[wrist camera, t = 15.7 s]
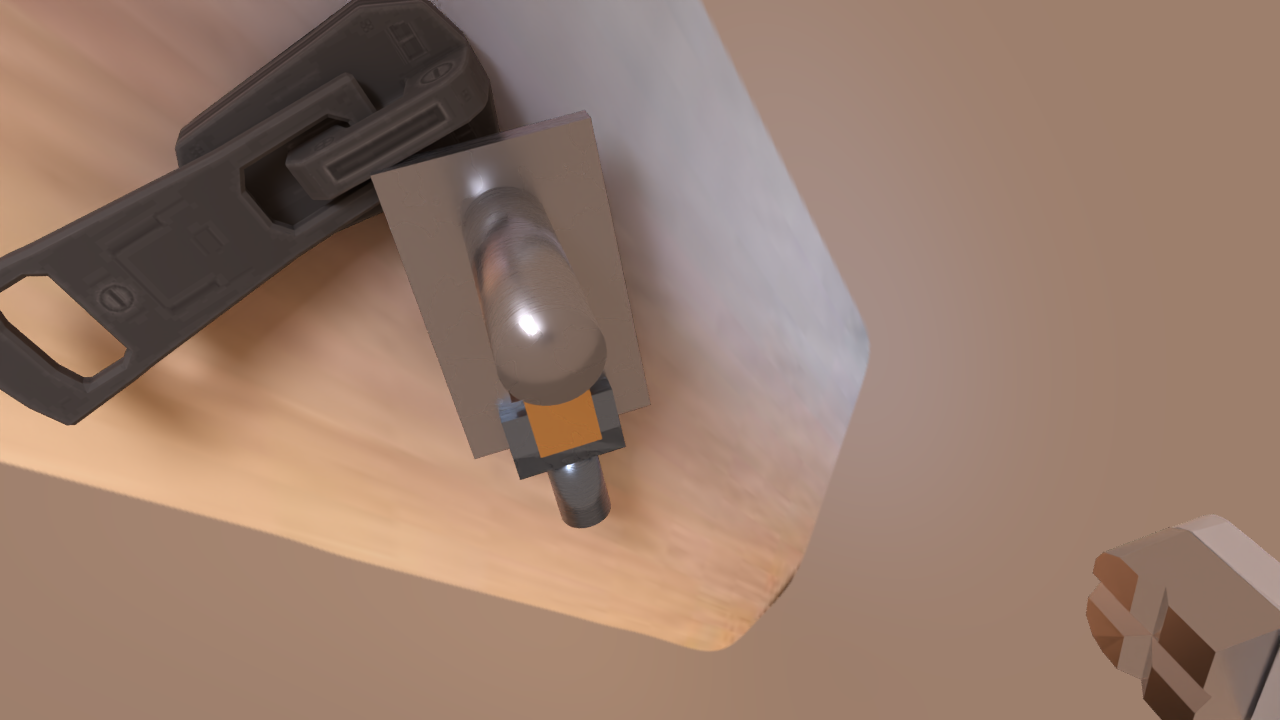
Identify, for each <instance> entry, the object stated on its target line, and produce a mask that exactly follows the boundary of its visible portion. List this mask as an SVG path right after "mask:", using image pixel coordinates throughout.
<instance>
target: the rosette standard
mask: <svg viewBox="0 0 1280 720" xmlns="http://www.w3.org/2000/svg"><path fill="white" fill-rule="evenodd" d="M370 176H371V179H372V181H373V184H374V187H375V190H376V192H377V195H378V198H379V200H380V203H381V206H382V209H383V211H384V214H385V217H386V219H387V222H388V225H389V228H390V230H391V233H392V236H393V238H394V241H395V244H396V247H397V249H398V252H399V255H400V257H401V260H402V263H403V266H404V268H405V271H406V274H407V276H408V279H409V282H410V285H411V287H412V290H413V293H414V295H415V298H416V301H417V304H418V306H419V309H420V312H421V314H422V317H423V320H424V323H425V325H426V328H427V331H428V333H429V336H430V339H431V342H432V344H433V347H434V350H435V352H436V355H437V358H438V361H439V363H440V366H441V369H442V371H443V374H444V377H445V380H446V382H447V385H448V388H449V390H450V393H451V396H452V399H453V401H454V404H455V407H456V409H457V412H458V415H459V418H460V420H461V423H462V426H463V428H464V431H465V434H466V436H467V439H468V442H469V445H470V447H471V450H472V453H473V455H474V458H475V459H477V458H480V457H483V456H487V455H490V454H493V453H496V452H500V451H503V450H506V449H509V448H510V450H511V453H512V456H513V459H514V462H515V465H516V468H517V471H518V474H519V477H520V480H522V479H525V478H528V477H531V476H534V475H537V474H541V473H544V472H548V475H549V478H550V481H551V485H552V488H553V491H554V494H555V497H556V501H557V504H558V507H559V510H560V514H561V517H562V519H563V521H564V522H565V523H566V524H567V525H569V526H571V527H575V528H587V527H591V526H594V525H596V524H598V523H600V522H601V521H602V520H604V519H605V518H606V516H607V515H608V514H609V512H610V509H611V503H610V499H609V496H608V492H607V488H606V484H605V480H604V477H603V473H602V469H601V465H600V461H599V458H598V455H601V454H604V453H607V452H611V451H614V450H617V449H620V448H623V447H626V446H625V442H624V437H623V433H622V429H621V425H620V421H619V416H618V415H619V414H623V413H626V412H629V411H632V410H636V409H639V408H642V407H645V406H648V405H651V403H650V399H649V394H648V389H647V384H646V379H645V375H644V370H643V365H642V360H641V356H640V351H639V346H638V341H637V336H636V332H635V327H634V322H633V317H632V313H631V308H630V303H629V298H628V293H627V289H626V284H625V279H624V274H623V270H622V265H621V260H620V255H619V250H618V246H617V241H616V236H615V231H614V227H613V222H612V217H611V212H610V207H609V203H608V198H607V193H606V188H605V184H604V179H603V174H602V169H601V164H600V160H599V155H598V150H597V145H596V140H595V136H594V131H593V126H592V121H591V117H590V116H589V115H588V113H587V112H586V111H585V110H583V111H580V112H576V113H572V114H568V115H564V116H561V117H557V118H553V119H549V120H545V121H542V122H538V123H534V124H530V125H526V126H522V127H519V128H515V129H511V130H507V131H503V132H500V133H496V134H492V135H488V136H484V137H481V138H477V139H473V140H469V141H465V142H462V143H458V144H454V145H450V146H446V147H443V148H439V149H435V150H431V151H427V152H424V153H420V154H416V155H412V156H409V157H407V158H405V159H404V160H402V161H400V162H398V163H397V164H395V165H393V166H391V167H389V168H386V169H383V170H380V171H376V172H372V173H370ZM589 389H590V392H591V396H592V400H593V404H594V408H595V412H596V416H597V420H598V424H599V428H600V432H601V436H602V439H601V440H597V441H594V442H591V443H588V444H585V445H581V446H578V447H575V448H572V449H569V450H565V451H562V452H559V453H556V454H552V455H549V456H546V457H543V458H541V457H540V453H539V450H538V447H537V444H536V441H535V437H534V434H533V431H532V428H531V425H530V421H529V418H528V415H527V412H526V409H525V405H524V402H526V403H529V404H533V405H540V406H551V405H558V404H562V403H566V402H568V401H571V400H573V399H575V398H577V397H579V396H580V395H582V394H584V393H585V392H586V391H587V390H589Z"/></svg>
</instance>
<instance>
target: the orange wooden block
mask: <svg viewBox="0 0 1280 720" xmlns="http://www.w3.org/2000/svg"><path fill="white" fill-rule="evenodd" d="M524 405H525V409H526V412H527V415H528V418H529V421H530V425H531V428H532V431H533V434H534V437H535V441H536V444H537V447H538V450H539V453H540V457H541V458H543V457H546V456H549V455H552V454H556V453H559V452H562V451H565V450H569V449H572V448H575V447H578V446H581V445H585V444H588V443H591V442H594V441H597V440H601V439H602V436H601V432H600V428H599V424H598V420H597V416H596V412H595V408H594V404H593V400H592V396H591V392H590V389H589V390H587V391H586V392H585V393H584V394H582V395H580V396H579V397H577V398H575V399H573V400H571V401H568V402H566V403H562V404H558V405H551V406H540V405H533V404H529V403H526V402H524Z"/></svg>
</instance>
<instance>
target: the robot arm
mask: <svg viewBox="0 0 1280 720" xmlns="http://www.w3.org/2000/svg"><path fill="white" fill-rule="evenodd" d="M1093 574H1094V575H1095V576H1096V577H1097V578H1098V579H1099V580H1100V581H1101V582H1100V583H1099V584H1098V585H1097V587H1096V588H1095V589H1094V591H1093V592H1092V593H1091V594H1090V595H1089V597H1088V603H1087V611H1086V616H1087V620H1088V623H1089V626H1090V629H1091V632H1092V635H1093V637H1094V639H1095V640H1096V642H1097V644H1098V645H1099V647H1100V649H1101V650H1102V652H1103V653H1104V654H1105V655H1106V657H1107V658H1108V659H1109V660H1110V661H1111V662H1112V664H1113V665H1114V666H1115V667H1116V668H1117V669H1118V670H1121V671H1123V672H1125V673H1127V674H1130V675H1132V676H1134V677H1136V678H1139V679H1141V683H1142V692H1143V699H1144V700H1145V701H1146V703H1147V704H1148V705H1149V706H1150V707H1151V708H1152V710H1153V711H1154V712H1155V713H1156V714H1157V715H1158V716H1159V717H1160V718H1161V720H1280V563H1279V562H1278V561H1277V560H1276V559H1274V558H1273V557H1272V556H1271V555H1269V554H1268V553H1267V552H1266V551H1265V550H1263V549H1262V548H1261V547H1260V546H1259V545H1257V544H1256V543H1255V542H1254V541H1252V540H1251V539H1250V538H1249V537H1248V536H1246V535H1245V534H1244V533H1243V532H1241V531H1240V530H1239V529H1238V528H1236V527H1235V526H1234V525H1233V524H1232V523H1231V522H1229V521H1228V520H1226V519H1225V518H1222V517H1220V516H1217V515H1215V514H1210V515H1203V516H1201V517H1198V518H1195V519H1192V520H1190V521H1187V522H1184V523H1182V524H1179V525H1176V526H1174V527H1168V528H1166V529H1163V530H1160V531H1158V532H1155V533H1152V534H1150V535H1147V536H1145V537H1142V538H1140V539H1137V540H1134V541H1132V542H1129V543H1126V544H1124V545H1121V546H1118V547H1116V548H1113V549H1111V550H1108V551H1106V552H1103V553H1102V554H1101V555H1100V556H1099V557H1097V558H1096V560H1095V565H1094V569H1093Z"/></svg>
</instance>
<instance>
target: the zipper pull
mask: <svg viewBox="0 0 1280 720" xmlns="http://www.w3.org/2000/svg"><path fill="white" fill-rule="evenodd" d="M496 133H499V127H498V121H497V116H496V111H495V106H494V101H493V96H492V90H491V85H490V81H489V78H488V76H487V75H486V73H485V71H484V69H483V67H482V66H481V64H480V62H479V60H478V59H477V57H476V55H475V53H474V51H473V50H472V48H471V46H470V45H469V43H468V41H467V39H466V38H465V36H464V34H463V32H462V31H461V30H460V29H459V28H458V27H457V26H456V25H454V24H453V23H452V22H451V21H450V20H449V19H448V18H447V17H446V16H445V15H443V14H442V13H441V12H440V11H439V10H438V9H437V8H436V7H435V6H434V5H433V4H431V3H430V2H429V1H428V0H352V1H351V2H349V3H348V4H347V5H345V6H344V7H343V8H341V9H340V10H339V11H337V12H336V13H335V14H333V15H332V16H331V17H329V18H328V19H327V20H325V21H324V22H323V23H321V24H320V25H319V26H317V27H316V28H315V29H313V30H312V31H311V32H309V33H308V34H307V35H305V36H304V37H303V38H301V39H300V40H298V41H297V42H296V43H294V44H293V45H292V46H290V47H289V48H288V49H286V50H285V51H284V52H282V53H281V54H280V55H278V56H277V57H276V58H274V59H273V60H272V61H270V62H269V63H268V64H266V65H265V66H264V67H262V68H261V69H260V70H258V71H257V72H256V73H254V74H253V75H252V76H250V77H249V78H248V79H246V80H245V81H244V82H242V83H241V84H240V85H238V86H237V87H236V88H234V89H233V90H232V91H230V92H229V93H228V94H226V95H225V96H224V97H222V98H221V99H220V100H218V101H217V102H216V103H214V104H213V105H212V106H210V107H209V108H207V109H206V110H205V111H203V112H202V113H201V114H199V115H198V116H197V117H196V118H195V119H193V120H192V121H191V122H190V123H189V124H187V125H186V126H185V127H183V128H182V130H181V131H180V134H179V137H178V140H177V143H176V146H175V151H176V156H177V160H178V165H179V168H178V169H176V170H174V171H172V172H170V173H168V174H166V175H164V176H162V177H160V178H158V179H156V180H154V181H152V182H150V183H148V184H146V185H144V186H142V187H140V188H138V189H136V190H135V191H133V192H131V193H129V194H127V195H125V196H123V197H121V198H119V199H117V200H115V201H113V202H111V203H109V204H107V205H105V206H103V207H101V208H99V209H97V210H95V211H93V212H91V213H89V214H87V215H85V216H83V217H81V218H79V219H77V220H75V221H74V222H72V223H70V224H68V225H66V226H64V227H62V228H60V229H58V230H56V231H54V232H52V233H50V234H48V235H46V236H44V237H42V238H40V239H38V240H36V241H34V242H32V243H30V244H28V245H26V246H24V247H21V248H19V249H17V250H15V251H13V252H10V253H8V254H6V255H5V256H3V257H1V258H0V292H2V291H4V290H5V289H7V288H9V287H10V286H12V285H13V284H15V283H17V282H18V281H20V280H22V279H23V278H25V277H26V276H49V277H50V278H51V279H52V280H53V281H54V282H55V283H56V284H57V285H59V286H60V287H61V288H62V289H63V290H64V291H65V292H66V293H67V294H68V295H69V296H71V297H72V298H73V299H74V300H75V301H76V302H77V303H78V304H79V305H80V306H81V307H83V308H84V309H85V310H86V311H87V312H88V313H89V314H90V315H91V316H92V317H93V318H94V319H96V320H97V321H98V322H99V323H100V324H101V325H102V326H103V327H104V328H105V329H106V330H108V331H109V332H110V333H111V334H112V335H113V336H114V337H115V338H116V339H117V340H118V341H120V342H121V343H122V344H123V345H124V346H125V347H126V351H125V354H124V357H123V358H121V359H119V360H118V361H116V362H115V363H113V364H112V365H110V366H108V367H107V368H105V369H104V370H102V371H101V372H99V373H97V374H96V375H94V376H93V377H82V376H80V375H78V374H76V373H75V372H73V371H71V370H69V369H67V368H65V367H63V366H61V365H59V364H58V363H57V362H55V361H54V360H53V359H52V358H51V357H50V356H48V355H47V354H46V353H45V352H44V351H43V350H41V349H40V348H39V347H38V346H37V345H35V344H34V343H33V342H32V341H31V340H30V339H28V338H27V337H26V336H25V335H24V334H22V333H21V332H20V331H19V330H18V329H17V328H15V327H14V326H13V325H12V324H11V323H10V322H8V320H7V319H6V318H5V316H4V315H3V314H2V312H1V311H0V390H2V391H3V392H5V393H6V394H8V395H10V396H11V397H13V398H14V399H16V400H17V401H19V402H20V403H22V404H23V405H25V406H27V407H28V408H30V409H32V410H34V411H36V412H39V413H41V414H43V415H45V416H48V417H50V418H52V419H54V420H56V421H59V422H61V423H63V424H65V425H76V424H77V423H78V422H80V421H81V420H82V419H84V418H85V417H86V416H88V415H89V414H91V413H92V412H93V411H95V410H96V409H97V408H99V407H100V406H101V405H103V404H104V403H105V402H107V401H108V400H109V399H111V398H112V397H113V396H115V395H116V394H117V393H119V392H120V391H122V390H123V389H124V388H126V387H127V386H128V385H130V384H131V383H132V382H134V381H135V380H136V379H138V378H139V377H140V376H142V375H143V374H144V373H145V372H146V371H148V370H149V369H150V368H151V367H153V366H154V365H155V364H156V363H158V362H159V361H160V360H162V359H163V358H164V357H166V356H167V355H168V354H170V353H171V352H172V351H174V350H175V349H176V348H178V347H179V346H180V345H182V344H183V343H184V342H186V341H187V340H188V339H190V338H191V337H192V336H194V335H195V334H196V333H198V332H199V331H200V330H202V329H203V328H204V327H206V326H207V325H208V324H210V323H211V322H212V321H214V320H215V319H216V318H218V317H219V316H220V315H222V314H223V313H224V312H226V311H227V310H228V309H230V308H231V307H232V306H234V305H235V304H236V303H238V302H239V301H240V300H242V299H243V298H244V297H246V296H247V295H248V294H250V293H251V292H252V291H254V290H255V289H256V288H258V287H259V286H260V285H262V284H263V283H264V282H266V281H267V280H268V279H270V278H271V277H272V276H274V275H275V274H276V273H278V272H279V271H280V270H282V269H283V268H284V267H286V266H287V265H288V264H290V263H291V262H292V261H294V260H295V259H296V258H298V257H299V256H301V255H302V254H304V253H305V252H307V251H308V250H310V249H311V248H313V247H314V246H316V245H317V244H319V243H321V242H322V241H324V240H325V239H327V238H328V237H330V236H331V235H333V234H334V233H336V232H338V231H340V230H342V229H345V228H347V227H349V226H352V225H354V224H356V223H359V222H361V221H363V220H365V219H368V218H370V217H372V216H375V215H377V214H379V213H382V212H384V211H383V209H382V206H381V203H380V200H379V198H378V195H377V192H376V190H375V187H374V184H373V181H372V179H371V176H370V173H372V172H376V171H380V170H383V169H386V168H389V167H391V166H393V165H395V164H397V163H398V162H400V161H402V160H404V159H405V158H407V157H409V156H412V155H416V154H420V153H424V152H427V151H431V150H435V149H439V148H443V147H446V146H450V145H454V144H458V143H462V142H465V141H469V140H473V139H477V138H481V137H484V136H488V135H492V134H496Z"/></svg>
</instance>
